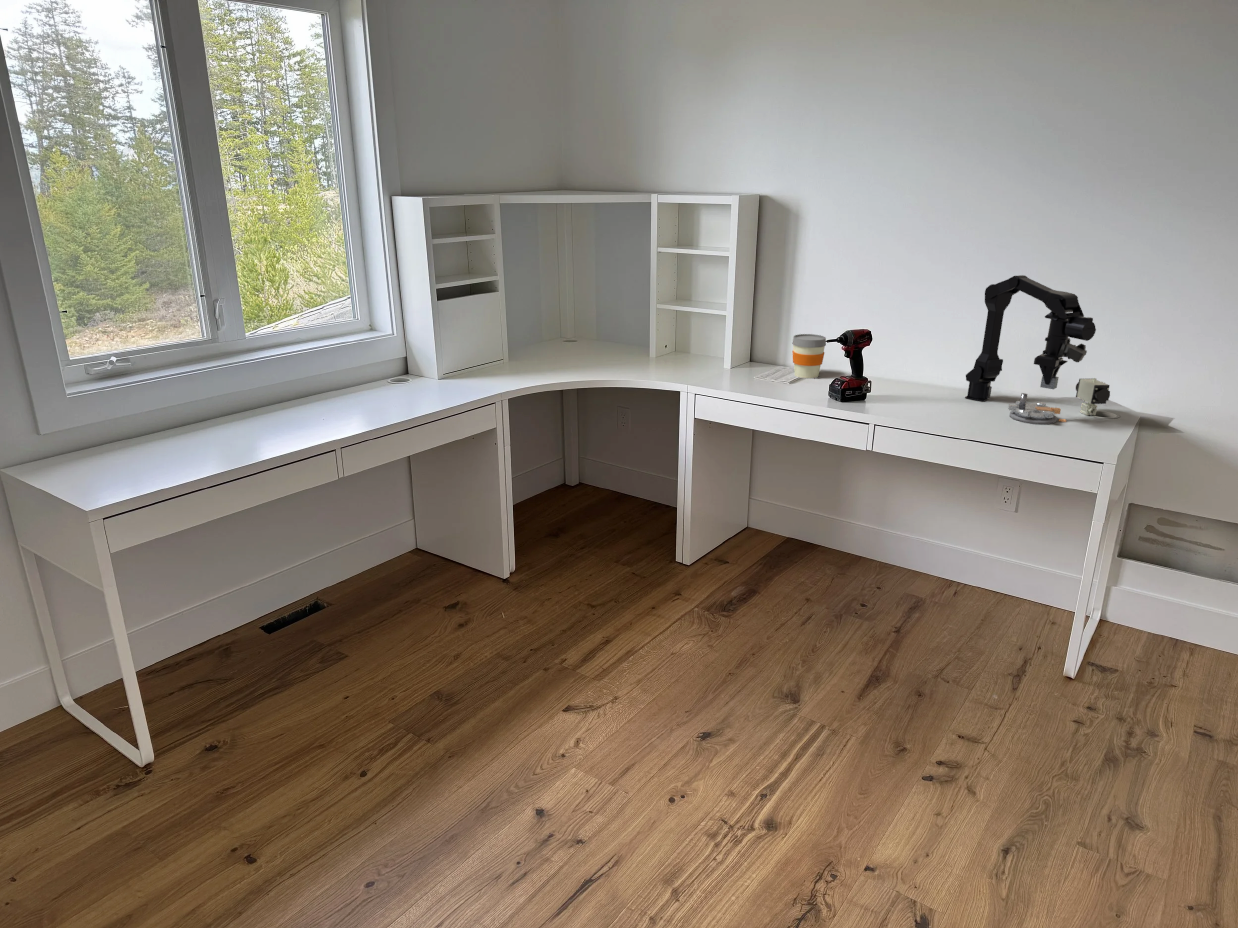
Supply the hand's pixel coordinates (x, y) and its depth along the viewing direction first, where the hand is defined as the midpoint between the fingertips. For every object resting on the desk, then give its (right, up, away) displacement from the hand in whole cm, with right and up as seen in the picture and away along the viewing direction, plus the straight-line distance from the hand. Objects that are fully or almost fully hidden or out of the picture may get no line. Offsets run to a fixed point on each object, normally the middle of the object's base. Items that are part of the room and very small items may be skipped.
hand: (1049, 383), depth 262 cm
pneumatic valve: (+18, -9, +10) cm, 23 cm away
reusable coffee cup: (-64, +9, +58) cm, 87 cm away
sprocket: (-3, -10, +5) cm, 11 cm away
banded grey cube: (0, -1, 0) cm, 1 cm away
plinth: (-2, -11, +4) cm, 12 cm away
